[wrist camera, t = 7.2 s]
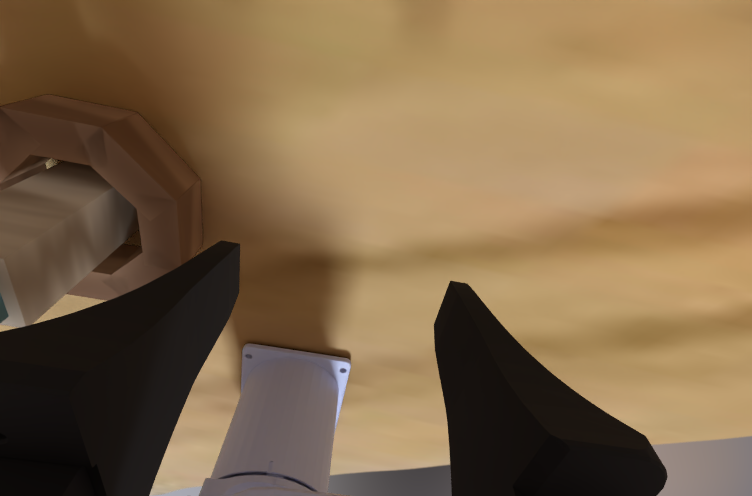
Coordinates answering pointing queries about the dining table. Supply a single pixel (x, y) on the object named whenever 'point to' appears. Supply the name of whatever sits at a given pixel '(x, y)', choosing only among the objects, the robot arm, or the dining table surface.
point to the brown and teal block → (56, 236)
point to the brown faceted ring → (111, 181)
